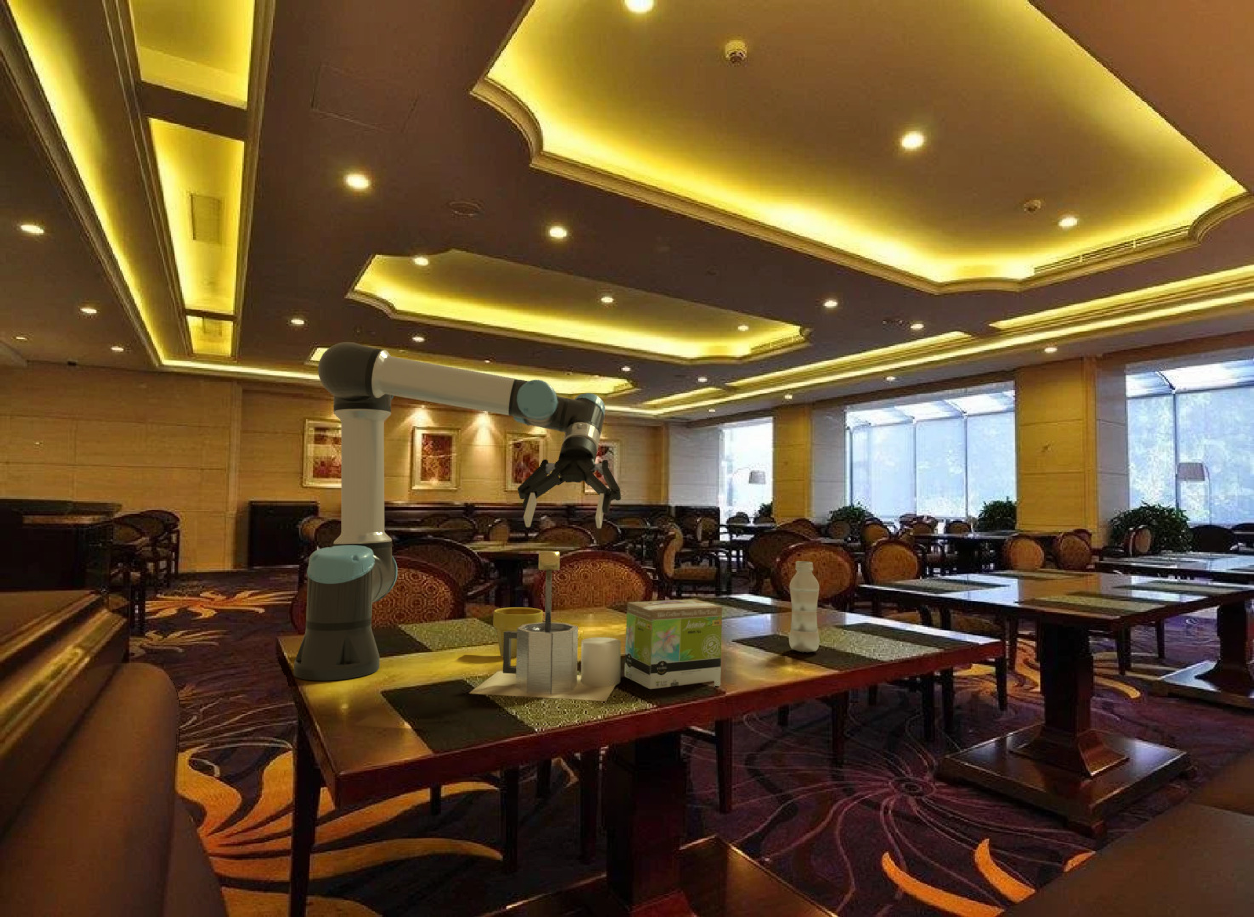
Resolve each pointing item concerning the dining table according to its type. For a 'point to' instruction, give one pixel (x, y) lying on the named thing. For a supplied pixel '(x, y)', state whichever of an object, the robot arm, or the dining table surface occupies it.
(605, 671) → the white cylindrical canister
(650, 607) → the tea box
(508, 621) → the plant pot
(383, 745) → the dining table surface
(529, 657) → the silver faceted mug
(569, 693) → the serving board
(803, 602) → the plastic bottle
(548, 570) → the plunger
